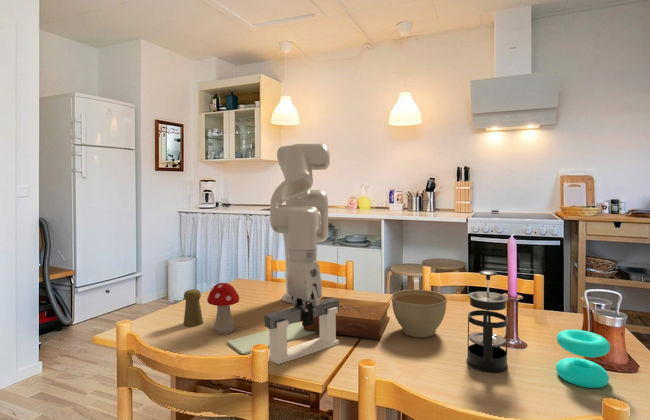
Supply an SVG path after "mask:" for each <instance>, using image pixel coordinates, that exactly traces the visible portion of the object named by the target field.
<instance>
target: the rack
mask: <svg viewBox="0 0 650 420" xmlns="http://www.w3.org/2000/svg"><path fill="white" fill-rule="evenodd" d="M336 313H338V308H337V307H333V308H330V309H327V314H325V315H321V316H319V333H318V334H319V337H317V338H314V339H312V340H308V341H305V342H301V343H299V344H295V345H292V346H289V347H288V342H287V327H289V323H288V320H284V321H281V322H277V323H276V324H277V328H274V329H269V328H268V330H269V339H270V347H269V353H268V354H269V359H268V360H269V361H270V362H272V363H273V362H274V363H273V364H275V363H276V364H279V365H281V364H280V363H282V364H284V363H283V362H285V363H287V361H288V362H290V360H291V361H293V360H296V359H299V358H302V357H305V356H309V355H310V354H313V353H317V352H319V351H323V350H326V349H328V348H330V347H335V346H337V345H339V344H340V339H337V336H336V335H337V334H336ZM276 364H275V365H276Z"/></svg>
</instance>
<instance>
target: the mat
mask: <svg viewBox="0 0 650 420" xmlns="http://www.w3.org/2000/svg"><path fill="white" fill-rule="evenodd" d="M317 333H318V332H316V331H308V330H304V326H302V323H301V322H297V323H292V324H289V327H287V343H288V342H291V341H294V340H297V339H301V338H305V337H308V336H311V335H315V334H317ZM226 343H227V345H229V346H230V347H232V348H233V349H234V350H236V351H237V352H238V353H240V354H241V355H242V354H246V355H248V354H251V348H252V347H253V346H254V345H256V344H265V345H268V348H270V339H269V329H267V330H263V331H259V332H255V333H253V334H252V333H251V334H248V335H245V336H240V337H238V338H233V339H230V340H227V342H226Z"/></svg>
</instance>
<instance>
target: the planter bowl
mask: <svg viewBox="0 0 650 420" xmlns="http://www.w3.org/2000/svg"><path fill="white" fill-rule="evenodd" d="M390 298H391V304H392V305H391V306H392V311H393V314H394V317H395V319H396V321H397V322H398V325H400V326H401V328H402V332H403V334H405V335H407V336H410V337H412V338H429V337H433V336H434V335H436V331H437V329H438V328H439V326H440V325H441V324H442V322H443V320H444V318H445V314H446V310H447V303H448V298H447V296H446V295H444V294H443V293H440V292H437V291H432V290H427V289H425V290H424V289H405V290H399V291H396V292H394V293H392V294H391V296H390Z"/></svg>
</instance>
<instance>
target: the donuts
mask: <svg viewBox="0 0 650 420" xmlns="http://www.w3.org/2000/svg"><path fill="white" fill-rule="evenodd" d="M556 341H557V344H558V345H559V346H560V347H561V349H563V350H565V351H566V352H569V353H570V354H573V355H577V356H580V357H586V358H600V357H604V356H605V355H607V354H608V353H610V350H611V345H610V343H609V341H608V340H607V339H606V338H605V337H604V336H603V335H600V334H597V333H596V332H595V333H594V332H591V331H587V330H584V329H583V330H581V329H574V328H573V329H571V328H570V329H565V330H561V331H559V332H558V334H557V335H556ZM580 357H565V358H562V359H560V360H559V361H557V363H556V365H555V370H556V373H557V374H558V376H560V378H561V379H563V380H564V381H566V382H568V383H570V384H572V385H575V386H578V387H581V388H582V387H583V388H586V389H588V388H589V389H599V388H603V387H605V386H606V385H608V383H609V382H610V376H609V374H608V372H607V371H606V369H605V368H604V367H603V366H601V365H600V364H598V363H596V362H594V361H591V360H588V359H586V358H580Z"/></svg>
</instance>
